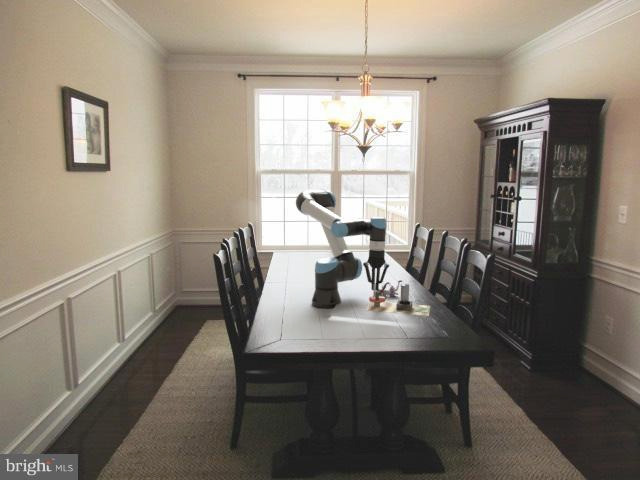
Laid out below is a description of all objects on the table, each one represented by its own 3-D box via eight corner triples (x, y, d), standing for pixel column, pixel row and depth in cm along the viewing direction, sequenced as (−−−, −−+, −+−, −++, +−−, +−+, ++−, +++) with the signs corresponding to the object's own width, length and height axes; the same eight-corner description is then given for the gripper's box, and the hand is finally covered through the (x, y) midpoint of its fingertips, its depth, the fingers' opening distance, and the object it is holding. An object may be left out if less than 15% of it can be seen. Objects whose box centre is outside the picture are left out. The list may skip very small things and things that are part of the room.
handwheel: (368, 308, 222) (368, 292, 221) (369, 303, 230) (369, 287, 229) (385, 309, 221) (385, 292, 220) (385, 304, 229) (385, 288, 228)
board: (365, 313, 220) (365, 304, 219) (370, 303, 235) (371, 295, 234) (428, 319, 211) (428, 309, 210) (430, 308, 226) (430, 300, 226)
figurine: (401, 305, 243) (376, 303, 238) (395, 297, 250) (370, 295, 246) (407, 285, 239) (382, 283, 234) (400, 278, 247) (375, 276, 242)
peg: (399, 309, 221) (400, 285, 219) (400, 306, 224) (401, 283, 222) (408, 310, 219) (408, 286, 217) (408, 307, 223) (409, 284, 221)
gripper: (362, 249, 216) (360, 297, 220) (388, 251, 213) (386, 300, 216) (365, 247, 224) (363, 293, 227) (391, 249, 220) (388, 296, 224)
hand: (374, 296), depth 222 cm, fingers closed
